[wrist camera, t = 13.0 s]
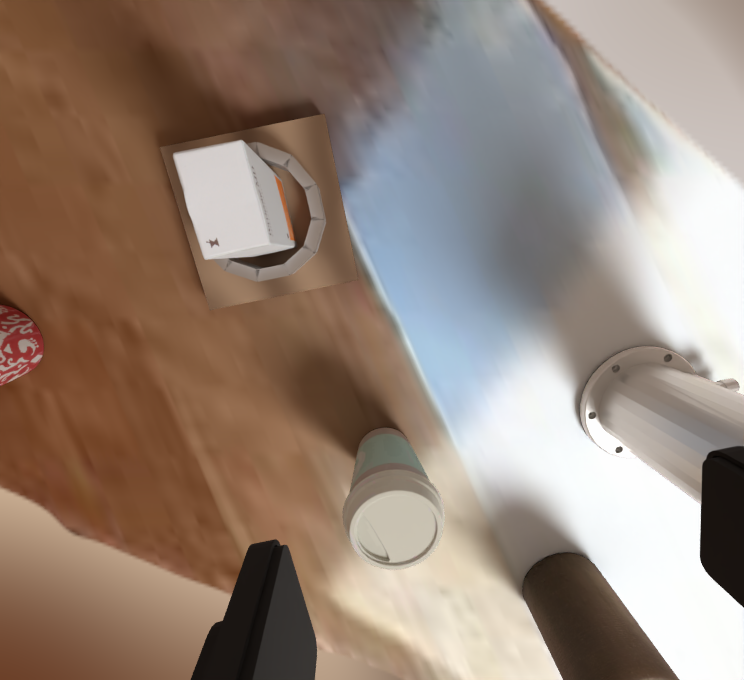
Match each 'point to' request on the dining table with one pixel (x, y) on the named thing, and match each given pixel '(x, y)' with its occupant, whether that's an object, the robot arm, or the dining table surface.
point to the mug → (18, 344)
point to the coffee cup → (392, 504)
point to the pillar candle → (588, 623)
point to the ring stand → (306, 209)
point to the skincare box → (234, 201)
